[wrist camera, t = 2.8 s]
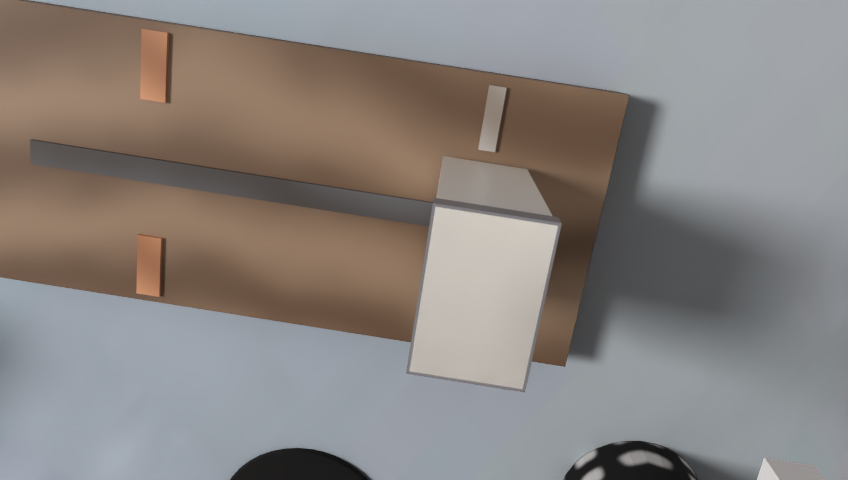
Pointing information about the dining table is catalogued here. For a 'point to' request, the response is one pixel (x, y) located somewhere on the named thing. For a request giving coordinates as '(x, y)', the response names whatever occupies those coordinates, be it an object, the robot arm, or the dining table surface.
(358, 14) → the dining table surface
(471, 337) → the fader
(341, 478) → the wine glass
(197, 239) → the brown flat wooden board
